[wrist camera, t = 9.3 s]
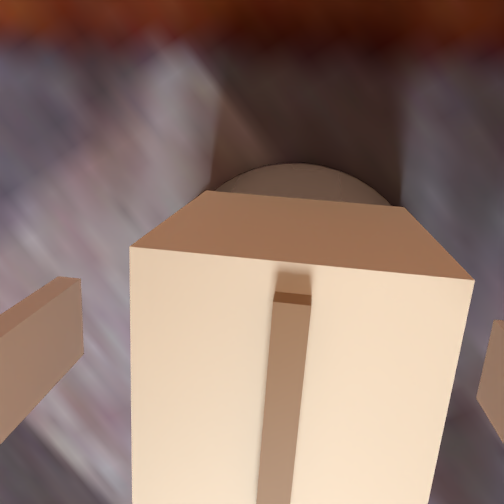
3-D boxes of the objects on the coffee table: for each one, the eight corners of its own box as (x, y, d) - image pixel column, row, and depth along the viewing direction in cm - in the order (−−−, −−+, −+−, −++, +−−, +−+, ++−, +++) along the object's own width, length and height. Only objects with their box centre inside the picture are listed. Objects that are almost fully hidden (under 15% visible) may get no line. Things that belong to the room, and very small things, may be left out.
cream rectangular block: (199, 362, 20) (123, 531, 12) (205, 190, 18) (119, 254, 10) (376, 384, 20) (421, 578, 11) (404, 207, 17) (484, 290, 9)
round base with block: (171, 379, 21) (120, 477, 16) (175, 153, 18) (113, 171, 13) (399, 408, 20) (433, 523, 15) (441, 173, 17) (503, 202, 12)
